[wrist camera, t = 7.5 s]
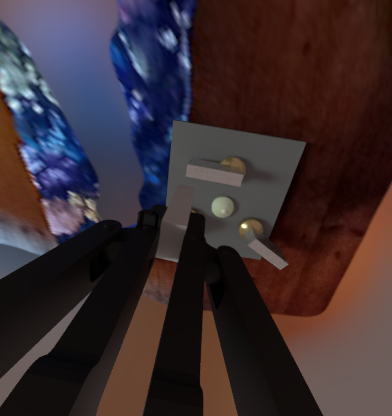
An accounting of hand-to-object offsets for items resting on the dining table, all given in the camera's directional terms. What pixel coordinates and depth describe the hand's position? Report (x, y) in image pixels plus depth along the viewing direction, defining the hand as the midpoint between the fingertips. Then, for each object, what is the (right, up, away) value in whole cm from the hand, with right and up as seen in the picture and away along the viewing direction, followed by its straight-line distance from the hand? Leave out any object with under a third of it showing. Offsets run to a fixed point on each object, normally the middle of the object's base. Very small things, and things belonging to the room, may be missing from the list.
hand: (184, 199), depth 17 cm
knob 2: (+13, -6, +20) cm, 25 cm away
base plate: (+6, +1, +20) cm, 21 cm away
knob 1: (+5, +6, +15) cm, 17 cm away
